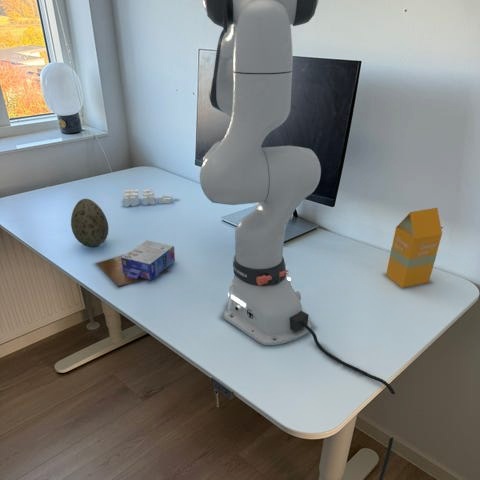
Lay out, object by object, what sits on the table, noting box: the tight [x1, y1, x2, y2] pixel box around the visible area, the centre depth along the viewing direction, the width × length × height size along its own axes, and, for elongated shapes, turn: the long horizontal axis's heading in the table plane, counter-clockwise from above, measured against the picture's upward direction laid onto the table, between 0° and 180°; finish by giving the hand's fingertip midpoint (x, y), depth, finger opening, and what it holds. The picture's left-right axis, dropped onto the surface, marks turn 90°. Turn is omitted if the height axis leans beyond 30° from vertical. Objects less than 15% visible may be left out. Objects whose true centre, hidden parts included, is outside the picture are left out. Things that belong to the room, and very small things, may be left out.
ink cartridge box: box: [121, 239, 176, 281], centre depth 130 cm, size 10×6×14 cm
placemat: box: [96, 254, 169, 288], centre depth 133 cm, size 15×16×1 cm
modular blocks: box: [122, 188, 173, 208], centre depth 175 cm, size 20×7×4 cm, turn 102°
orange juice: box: [385, 207, 443, 289], centre depth 122 cm, size 8×9×20 cm
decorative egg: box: [70, 198, 109, 248], centre depth 141 cm, size 11×11×15 cm
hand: (213, 185), depth 136 cm, fingers closed
